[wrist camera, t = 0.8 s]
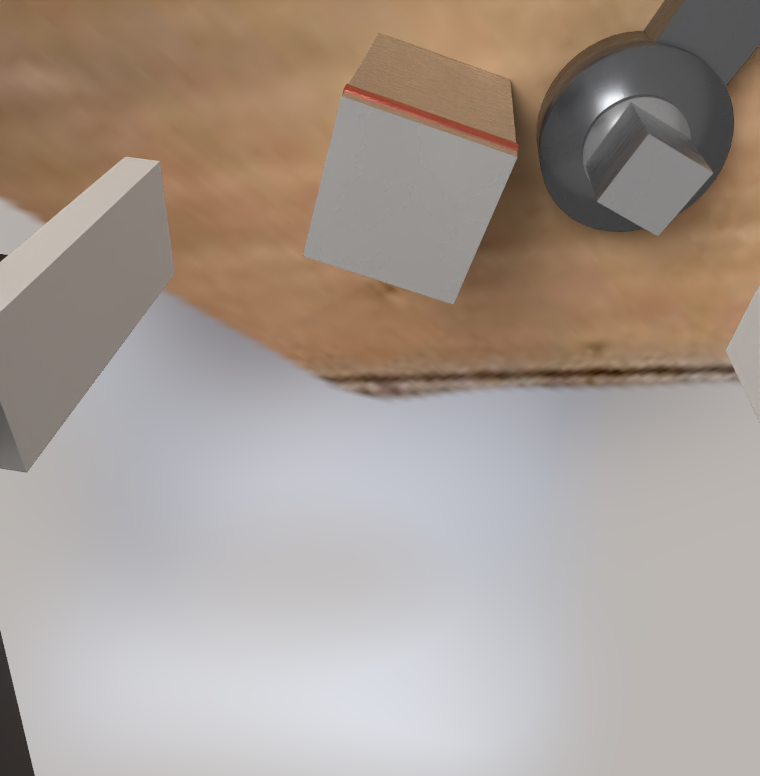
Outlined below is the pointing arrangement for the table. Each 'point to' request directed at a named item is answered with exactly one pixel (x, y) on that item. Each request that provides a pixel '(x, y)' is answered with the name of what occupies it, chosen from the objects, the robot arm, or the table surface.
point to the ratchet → (646, 116)
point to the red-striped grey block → (413, 169)
